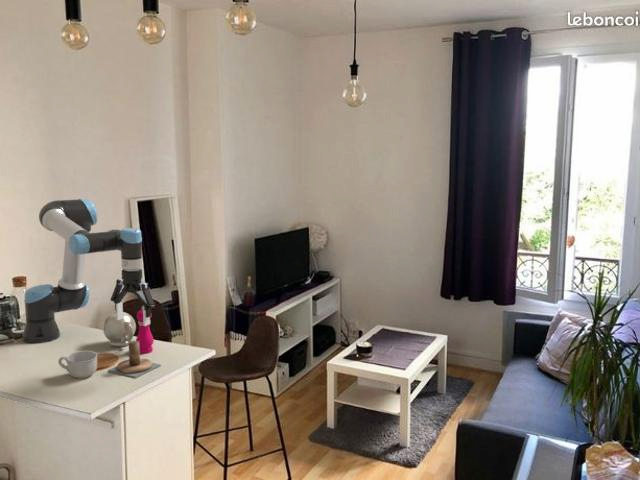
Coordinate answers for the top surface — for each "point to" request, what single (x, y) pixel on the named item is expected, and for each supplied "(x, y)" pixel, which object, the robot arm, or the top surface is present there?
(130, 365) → the lid
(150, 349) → the pepper mill
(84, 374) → the teacup
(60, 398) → the top surface
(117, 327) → the teapot
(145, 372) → the mat
